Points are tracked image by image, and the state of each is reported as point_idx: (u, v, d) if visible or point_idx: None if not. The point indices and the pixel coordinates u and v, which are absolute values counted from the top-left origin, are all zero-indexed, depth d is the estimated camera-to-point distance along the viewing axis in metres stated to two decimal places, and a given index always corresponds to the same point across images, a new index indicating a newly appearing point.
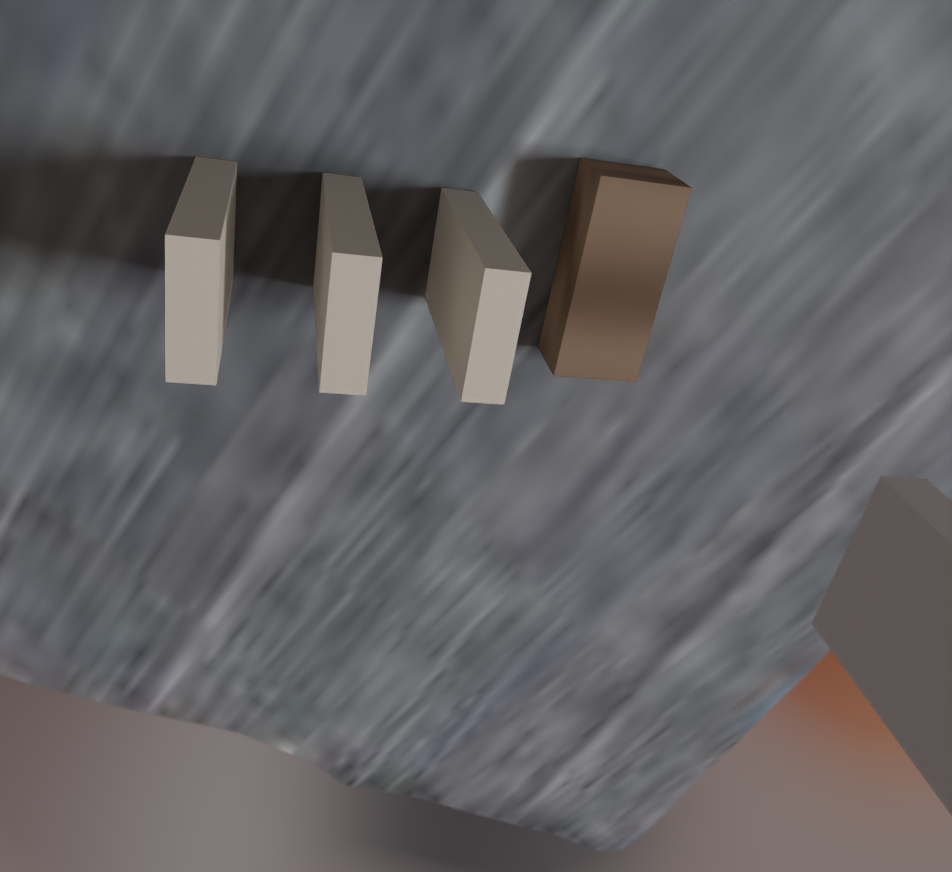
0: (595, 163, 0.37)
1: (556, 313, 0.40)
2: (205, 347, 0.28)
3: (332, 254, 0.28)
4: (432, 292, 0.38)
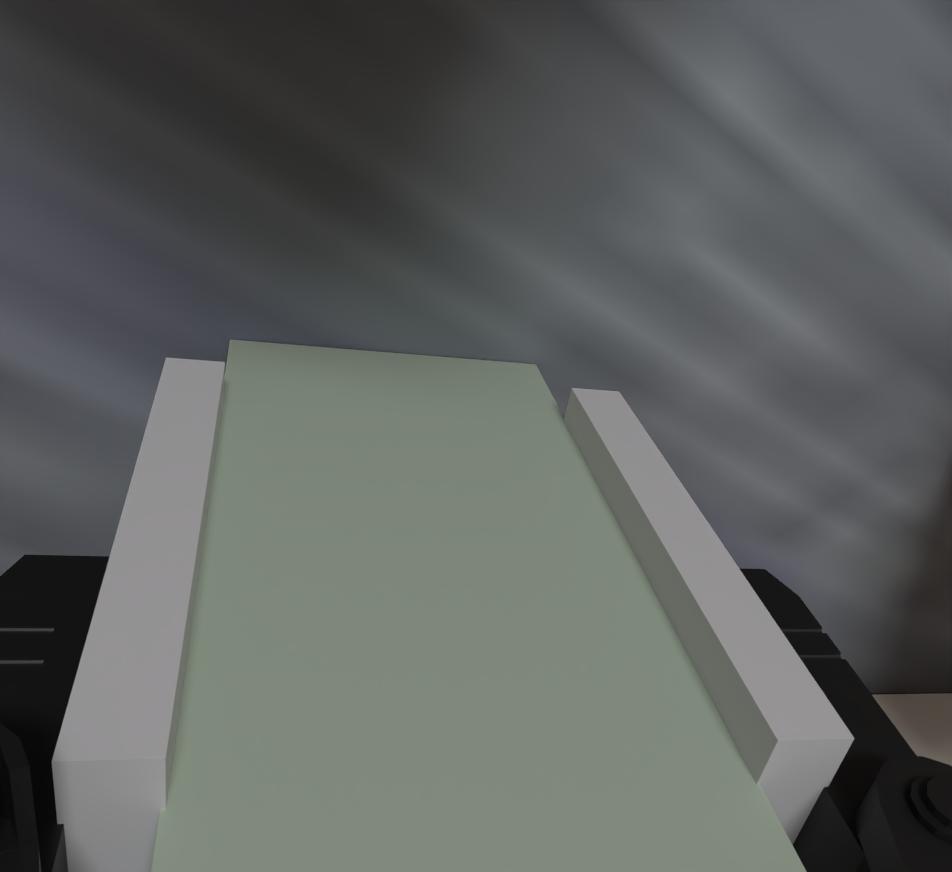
0: None
1: None
2: None
3: None
4: None
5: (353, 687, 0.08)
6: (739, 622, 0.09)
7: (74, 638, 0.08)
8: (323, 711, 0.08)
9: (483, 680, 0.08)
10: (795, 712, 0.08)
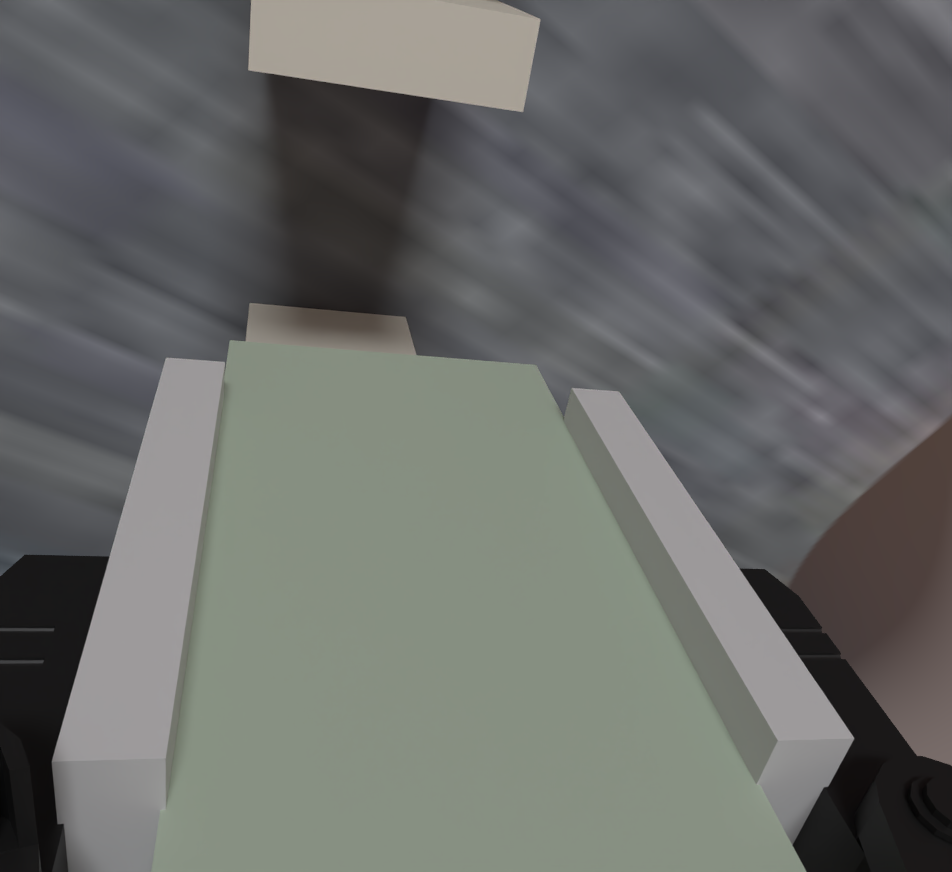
0: None
1: None
2: (463, 28, 0.15)
3: None
4: None
5: (354, 688, 0.08)
6: (739, 622, 0.09)
7: (74, 638, 0.08)
8: (324, 714, 0.08)
9: (484, 683, 0.08)
10: (795, 712, 0.08)
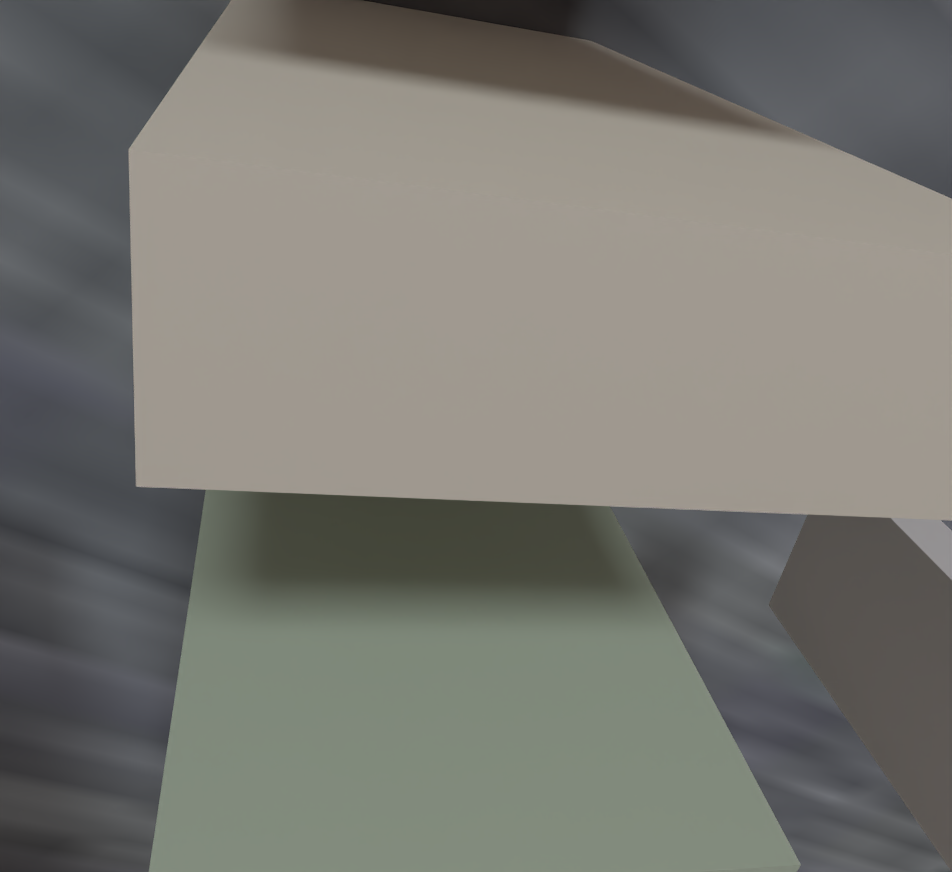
0: None
1: None
2: (885, 317, 0.04)
3: None
4: None
5: (347, 626, 0.09)
6: None
7: None
8: (318, 646, 0.08)
9: (467, 622, 0.09)
10: None
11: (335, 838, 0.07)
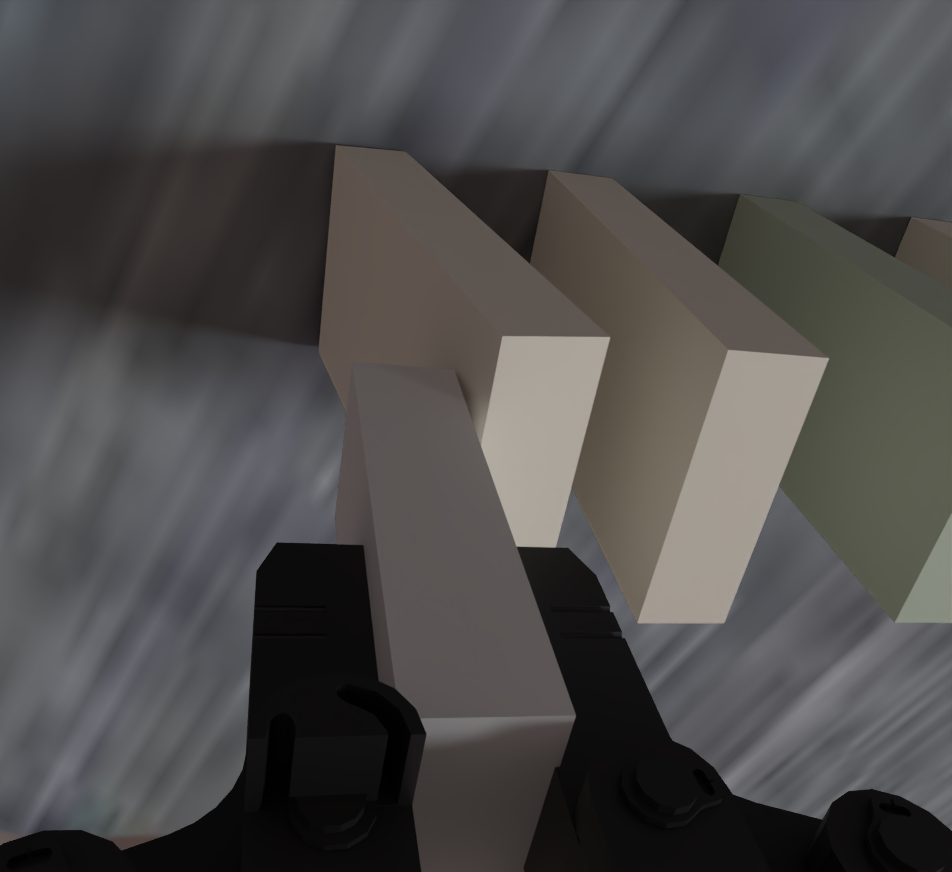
0: None
1: None
2: None
3: None
4: None
5: None
6: (494, 598, 0.08)
7: (345, 616, 0.09)
8: None
9: None
10: (520, 689, 0.07)
11: None
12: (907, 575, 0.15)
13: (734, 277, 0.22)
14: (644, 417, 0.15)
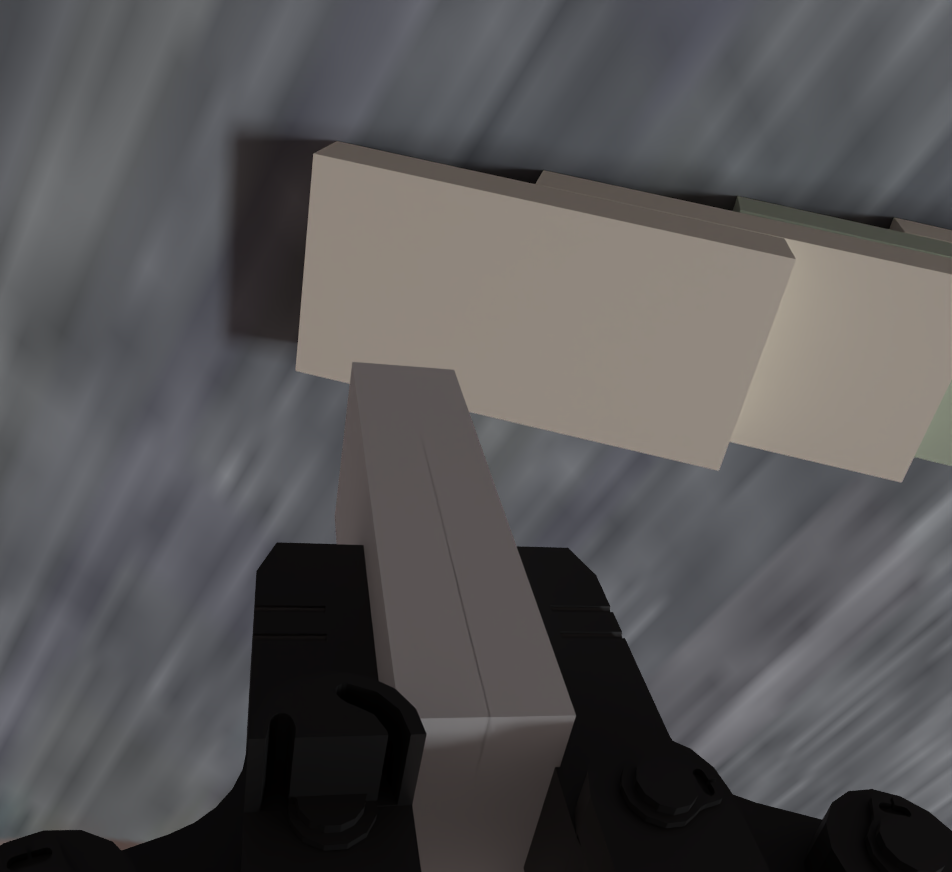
0: None
1: None
2: None
3: None
4: None
5: None
6: (494, 598, 0.08)
7: (345, 616, 0.09)
8: None
9: None
10: (520, 689, 0.07)
11: None
12: None
13: None
14: (873, 354, 0.20)
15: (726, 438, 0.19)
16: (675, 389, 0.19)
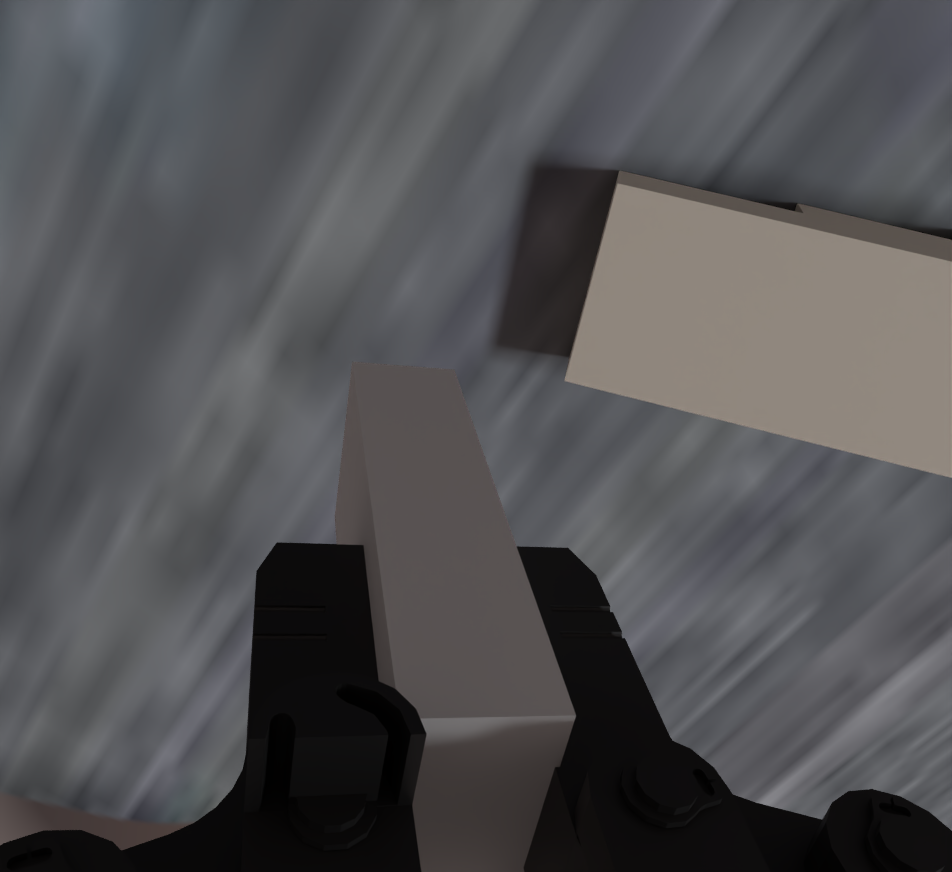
0: None
1: None
2: None
3: None
4: None
5: None
6: (494, 598, 0.08)
7: (345, 616, 0.09)
8: None
9: None
10: (520, 689, 0.07)
11: None
12: None
13: None
14: None
15: None
16: (931, 405, 0.21)
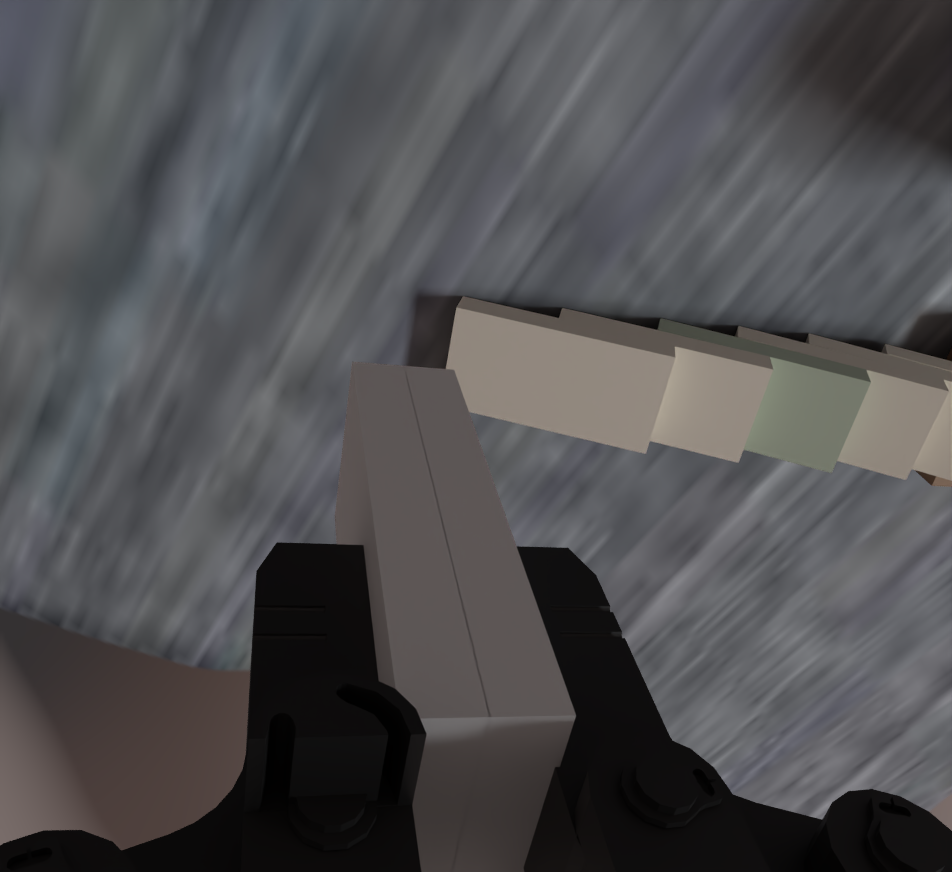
0: None
1: None
2: None
3: None
4: None
5: None
6: (494, 598, 0.08)
7: (345, 616, 0.09)
8: None
9: None
10: (520, 689, 0.07)
11: None
12: (833, 456, 0.42)
13: None
14: (719, 400, 0.41)
15: (648, 438, 0.41)
16: (623, 415, 0.40)
